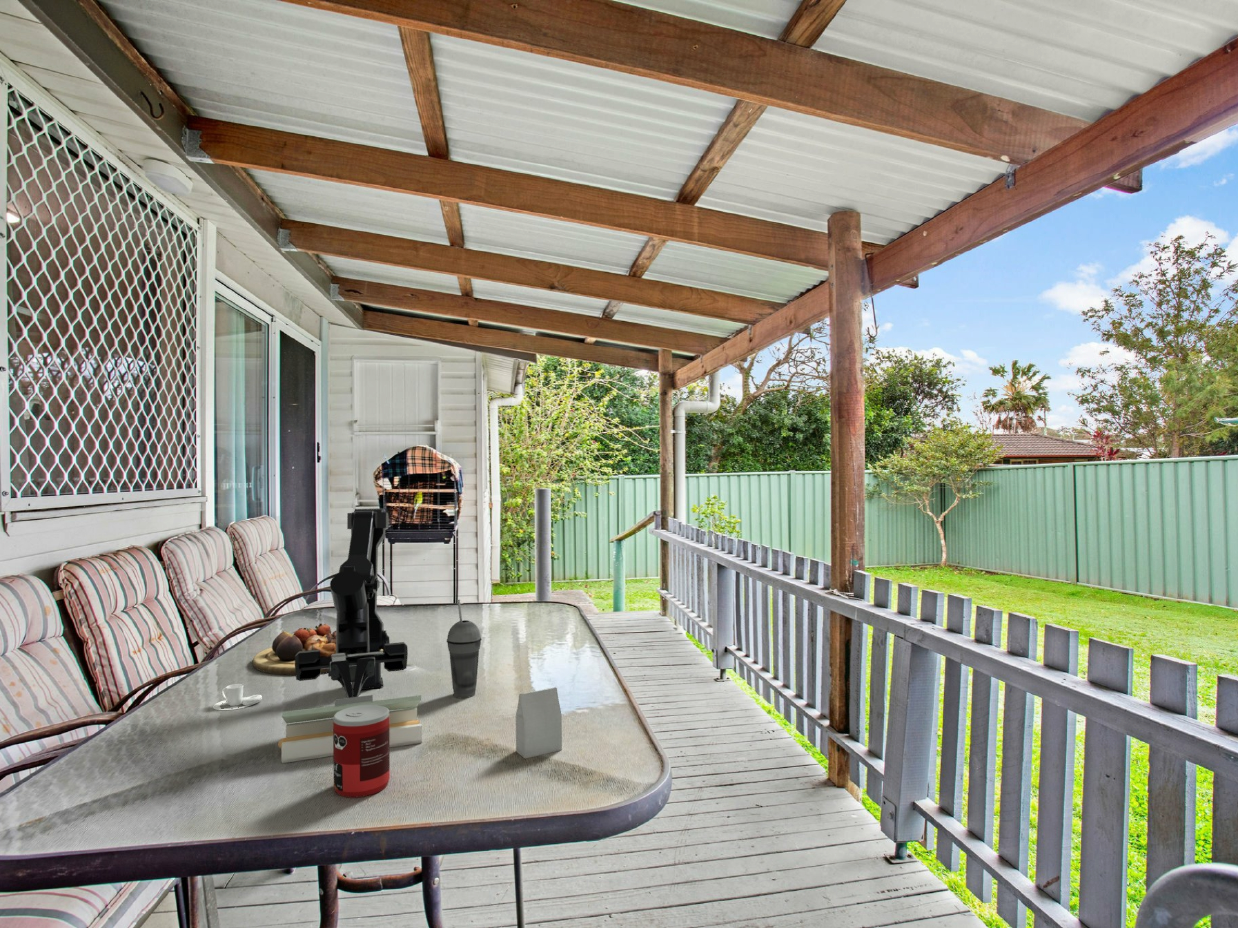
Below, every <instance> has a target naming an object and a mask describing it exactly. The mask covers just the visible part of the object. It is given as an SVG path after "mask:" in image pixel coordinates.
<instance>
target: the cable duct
mask: <svg viewBox="0 0 1238 928" xmlns="http://www.w3.org/2000/svg"><path fill="white" fill-rule="evenodd" d="M333 720H334V718H327V719H319V720H311V721H303V722H296V723H288V724H287V723H286V725H285V728H286V729H285V732H286V733H285V736H286V737H285V738H287V737H295V736H302V735H310V734H317V733H325V732H332V731H333ZM415 720H418V707H414V708H406V709H398V710H390V711H389V721H390V724H392V723H400V722H407V721H415ZM422 743H423V724H422V723H420V724H415V725H407V726H400V727H393V728H390V748H395V747H402V746H410V745H411V746H412V745H416V744H422ZM326 757H333V736H326V737H319V738H312V739H304V740H297V741H289V742H282V749H281V764H285V763H292V762H301V761H307V760H313V759H321V758H326Z"/></svg>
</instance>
